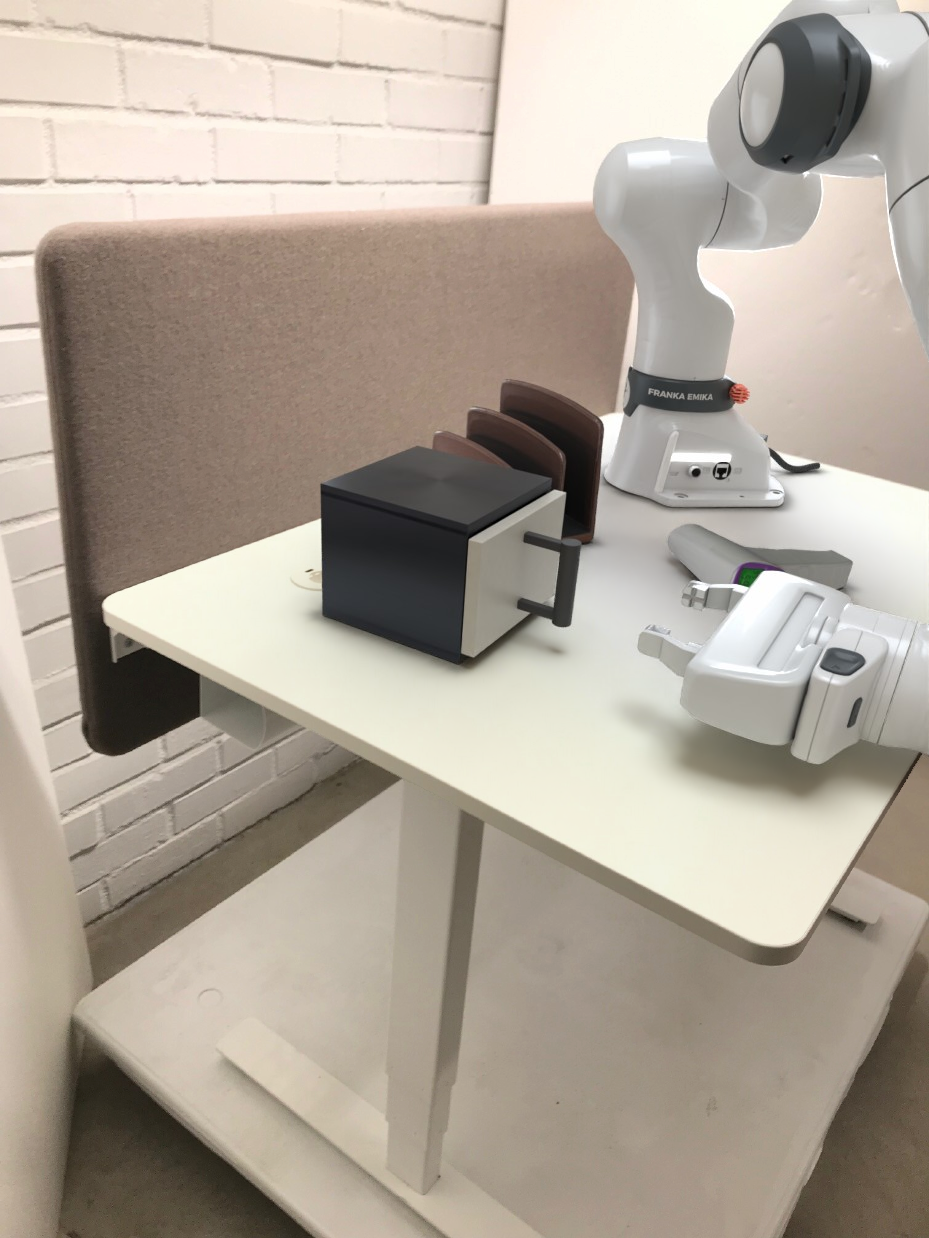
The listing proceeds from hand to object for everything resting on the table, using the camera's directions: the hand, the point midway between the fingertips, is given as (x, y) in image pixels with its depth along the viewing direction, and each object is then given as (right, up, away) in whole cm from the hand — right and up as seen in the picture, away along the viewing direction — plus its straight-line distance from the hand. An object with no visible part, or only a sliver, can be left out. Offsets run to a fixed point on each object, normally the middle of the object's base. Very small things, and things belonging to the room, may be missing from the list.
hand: (664, 613), depth 69 cm
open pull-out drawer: (-15, 0, +9) cm, 18 cm away
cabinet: (-18, 0, +12) cm, 21 cm away
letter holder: (-11, +11, +33) cm, 36 cm away
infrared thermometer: (+14, +4, +23) cm, 27 cm away
